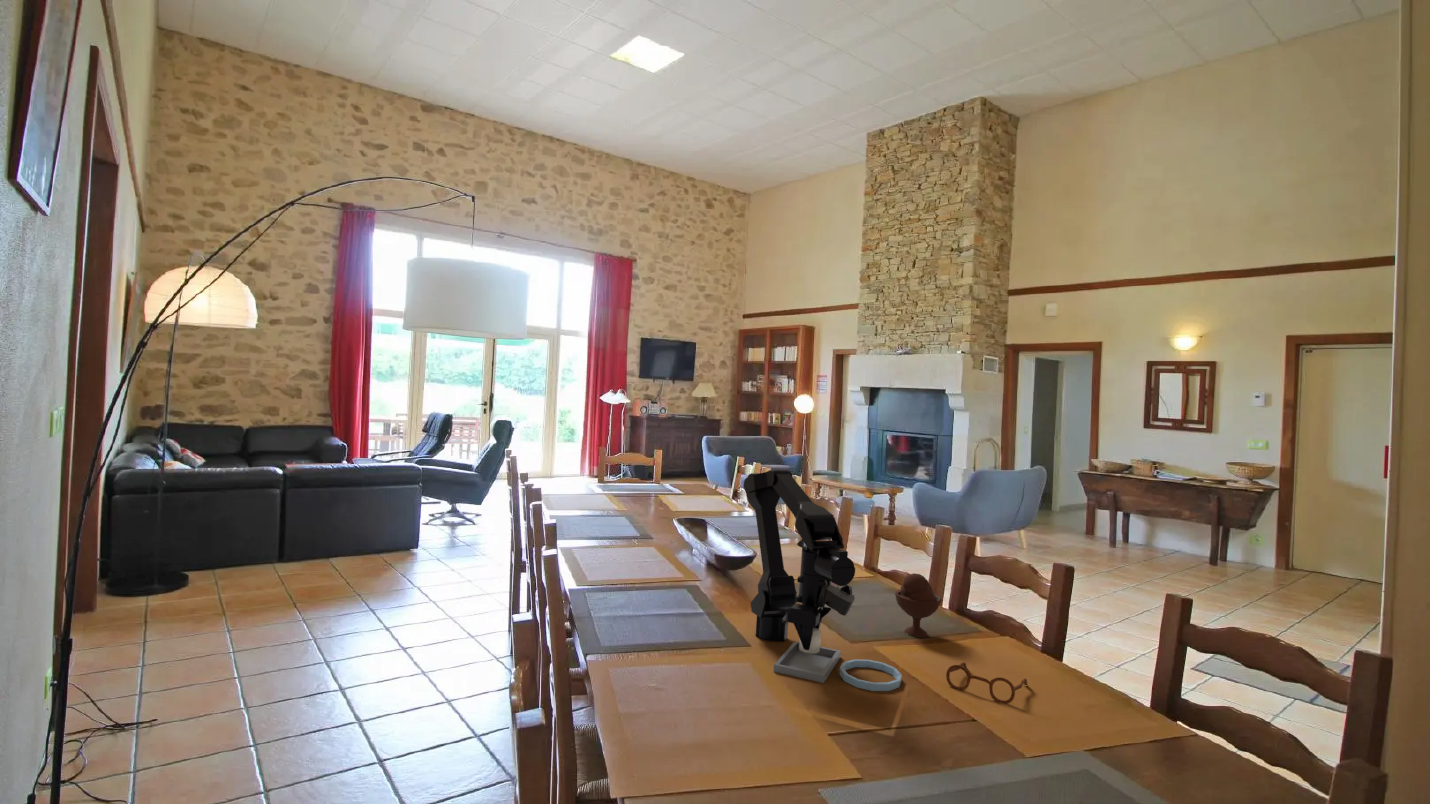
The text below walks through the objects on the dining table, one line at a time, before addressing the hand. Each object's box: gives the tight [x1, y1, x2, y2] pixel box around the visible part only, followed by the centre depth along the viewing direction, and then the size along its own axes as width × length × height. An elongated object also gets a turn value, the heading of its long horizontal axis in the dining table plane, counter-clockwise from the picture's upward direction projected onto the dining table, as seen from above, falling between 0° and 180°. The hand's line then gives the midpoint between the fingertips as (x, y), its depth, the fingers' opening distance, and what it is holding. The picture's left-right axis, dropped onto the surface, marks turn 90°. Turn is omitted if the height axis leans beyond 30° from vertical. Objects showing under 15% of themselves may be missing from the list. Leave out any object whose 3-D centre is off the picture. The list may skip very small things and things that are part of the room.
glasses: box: [945, 661, 1028, 705], centre depth 141 cm, size 13×13×5 cm
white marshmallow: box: [798, 628, 822, 654], centre depth 144 cm, size 4×4×4 cm
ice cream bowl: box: [894, 573, 942, 638], centre depth 169 cm, size 11×11×15 cm
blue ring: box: [839, 658, 903, 692], centre depth 139 cm, size 12×12×2 cm
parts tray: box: [773, 641, 842, 684], centre depth 144 cm, size 10×15×2 cm
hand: (809, 645), depth 144 cm, fingers closed on white marshmallow, 4 cm apart
